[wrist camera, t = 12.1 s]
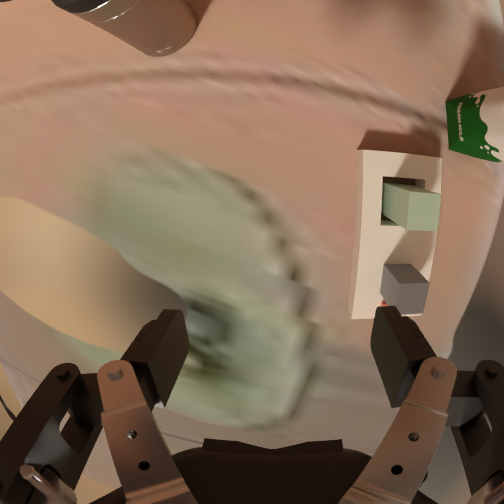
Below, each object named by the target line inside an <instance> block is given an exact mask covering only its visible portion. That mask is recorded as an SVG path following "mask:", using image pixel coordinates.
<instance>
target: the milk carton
mask: <svg viewBox="0 0 504 504" xmlns="http://www.w3.org/2000/svg"><path fill="white" fill-rule="evenodd" d="M445 103H446V112H447V124H448V140H449V150H452V151H456V152H459V153H463V154H466V155H469V156H473V157H476V158H480V159H484V160H489V161H493V162H500V163H504V87H499V88H495V89H490V90H485V91H481V92H477V93H473V94H468V95H465V96H462V97H459V98H456V99H453V100H450V101H446V102H445Z"/></svg>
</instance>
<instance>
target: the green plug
mask: <svg viewBox="0 0 504 504" xmlns="http://www.w3.org/2000/svg"><path fill="white" fill-rule="evenodd" d="M440 203H441V194H439V193H435V192H432V191H429V190H426V189H422V188H419V187H416V186H412V185H409V184H397V183H383V182H382V206H381V213H382V214H383V215H385V216H386V217H388V218H389V219H391V220H392V221H394V222H395V223H397V224H398V225H400V226H401V227H403V228H404V229H406V230H419V231H438V223H439V214H440Z"/></svg>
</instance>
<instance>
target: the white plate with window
mask: <svg viewBox="0 0 504 504" xmlns="http://www.w3.org/2000/svg"><path fill="white" fill-rule="evenodd" d="M441 174H442V158H438V157H431V156H424V155H415V154H407V153H397V152H386V151H374V150H357V193H356V219H355V236H354V250H353V262H352V273H351V283H350V292H349V301H348V311H349V314H350V317H351V319H368V318H374V317H375V311H376V308H377V307H378V306H391V305H395V306H396V307H397V309H398V311H399V312H400V314H401V315H402V316H418V315H422V313H423V310H424V306H425V302H426V297H427V293H428V288H429V279H430V273H431V268H432V262H433V256H434V250H435V243H436V235H437V231H419V230H406V229H404V228H403V227H401V226H400V225H398V224H397V223H395V222H394V221H389V220H381V206H382V182H383V176H387V177H401V178H413V179H416V181H415V186H416V187H419V188H422V189H426V190H429V191H432V192H435V193H439V194H441Z"/></svg>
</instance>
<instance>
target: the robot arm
mask: <svg viewBox="0 0 504 504" xmlns="http://www.w3.org/2000/svg"><path fill="white" fill-rule="evenodd" d="M6 1H11V0H0V2H6ZM52 2H53V3H54V4H55V5H56V6H58V7H59V8H61V9H64V10H66V11H68V12H70V13H72V14H74V15H76V16H78V17H80V18H82V19H84V20H86V21H88V22H90V23H92V24H94V25H96V26H98V27H99V28H101V29H103V30H105V31H107V32H109V33H110V34H112V35H114V36H116V37H117V38H119V39H121V40H123V41H124V42H126V43H128V44H129V45H131V46H133V47H134V48H136V49H138V50H140V51H141V52H143V53H145V54H146V55H149V56H155V57H159V56H165V55H169V54H171V53H173V52H175V51H177V50H179V49H180V48H182V47H183V46H184V45H185V44H186V43H187V42H188V41H189V40H190V39H191V37H192V36H193V34H194V32H195V29H196V25H197V19H196V16H195V14H194V12H193V11H192V9H191V8H190V7H189V5H188V4H187V1H186V0H52ZM188 351H189V339H188V334H187V329H186V325H185V320H184V315H183V312H182V310H174V309H164V310H163V311H162V312H161V313H160V315H159V316H158V318H157V320H152V321H150V322H149V323H147V324H146V325H144V326H143V328H142V329H141V331H140V332H139V334H138V335H137V336H136V338H135V339H134V341H133V342H132V343H131V345H130V346H129V348H128V349H127V351H126V352H125V353H124V355H123V356H122V358H121V359H120V360H114V361H110V362H108V363H106V364H104V365H103V366H102V367H101V368H100V369H99V370H98V372H97V373H90V374H81V373H80V371H79V369H78V367H77V366H76V365H75V364H72V363H63V364H60V365H58V366H56V367H54V368H53V369H52V370H51V371H50V372H49V374H48V375H47V376H46V378H45V379H44V380H43V382H42V383H41V384H40V385H39V387H38V388H37V389H36V391H35V392H34V393H33V395H32V396H31V398H30V399H29V400H28V402H27V403H26V404H25V406H24V407H23V409H22V410H21V412H20V413H19V415H18V416H17V417H16V419H15V420H14V421H13V423H12V425H11V426H10V427H9V429H8V430H7V432H6V433H5V435H4V436H3V438H2V440H1V441H0V504H77V498H76V495H75V493H74V490H75V487H76V485H77V483H78V480H79V478H80V476H81V474H82V471H83V469H84V467H85V465H86V462H87V460H88V458H89V456H90V454H91V451H92V449H93V447H94V445H95V443H96V441H97V439H98V436H99V434H100V432H101V430H102V428H103V426H104V430H105V434H106V438H107V441H108V445H109V448H110V452H111V455H112V459H113V462H114V465H115V468H116V471H117V474H118V477H119V480H120V482H121V485H122V486H121V487H120V488H118V489H116V490H114V491H112V492H111V493H109V494H107V495H105V496H103V497H101V498H99V499H97V500H95V501H93V502H91V503H89V504H438V503H436V502H435V501H433V500H432V499H430V498H429V497H427V496H426V495H424V494H423V493H421V492H420V491H419V490H418V488H419V486H420V484H421V482H422V480H423V478H424V476H425V474H426V472H427V470H428V467H429V464H430V463H431V460H432V458H433V456H434V453H435V451H436V448H437V446H438V443H439V440H440V438H441V435H442V432H443V429H444V427H445V426H450V427H451V430H452V433H453V436H454V438H455V441H456V444H457V447H458V450H459V453H460V457H461V460H462V463H463V466H464V470H465V473H466V477H467V480H468V484H469V488H470V492H471V497H470V499H469V501H468V503H467V504H504V367H503V366H502V365H501V364H500V363H498V362H496V361H494V360H482V361H480V362H479V363H478V364H477V367H476V369H475V371H458V370H457V369H456V367H455V366H454V364H453V363H451V362H450V361H449V360H447V359H445V358H441V357H437V356H436V354H435V353H434V351H433V349H432V348H431V346H430V345H429V343H428V341H427V340H426V338H425V337H424V335H423V334H422V332H421V331H420V329H419V327H418V326H417V324H416V323H415V322H414V321H413V320H411V319H410V318H409V317H407V316H402V315H401V314H400V312H399V311H398V309H397V307H396V306H395V305H391V306H378V307H377V308H376V311H375V317H374V323H373V329H372V334H371V351H372V354H373V356H374V359H375V362H376V365H377V367H378V370H379V373H380V376H381V378H382V381H383V384H384V387H385V390H386V393H387V396H388V398H389V401H390V404H391V407H392V408H395V407H401V408H400V410H399V412H398V413H397V415H396V417H395V419H394V421H393V423H392V425H391V426H390V428H389V430H388V432H387V433H386V435H385V437H384V438H383V440H382V442H381V444H380V445H379V447H378V448H377V450H376V452H375V453H374V455H373V456H372V457H371V456H369V455H367V454H365V453H362V452H359V451H356V450H351V449H345V448H343V445H342V439H339V440H328V441H312V442H305V443H301V444H297V445H292V446H288V447H283V448H278V449H267V448H262V447H258V446H254V445H250V444H246V443H242V442H239V441H228V440H216V439H207V438H205V439H204V443H203V447H198V448H193V449H188V450H185V451H182V452H179V453H176V454H174V455H172V454H171V452H170V450H169V448H168V446H167V444H166V442H165V440H164V438H163V436H162V434H161V432H160V430H159V428H158V425H157V423H156V421H155V419H154V417H153V415H152V410H153V408H154V407H160V408H165V406H166V403H167V401H168V399H169V396H170V394H171V392H172V389H173V387H174V385H175V382H176V380H177V378H178V375H179V373H180V371H181V368H182V366H183V364H184V361H185V359H186V357H187V354H188ZM67 411H68V413H69V414H70V417H69V419H68V421H67V422H66V424H65V426H64V428H63V429H62V431H61V433H60V431H59V426H60V423H61V421H62V419H63V417H64V416H65V414H66V412H67ZM485 414H487V416H488V418H489V421H490V423H491V426H492V433H491V431H490V428H489V426H488V424H487V421H486V419H485V417H484V416H485Z"/></svg>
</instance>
